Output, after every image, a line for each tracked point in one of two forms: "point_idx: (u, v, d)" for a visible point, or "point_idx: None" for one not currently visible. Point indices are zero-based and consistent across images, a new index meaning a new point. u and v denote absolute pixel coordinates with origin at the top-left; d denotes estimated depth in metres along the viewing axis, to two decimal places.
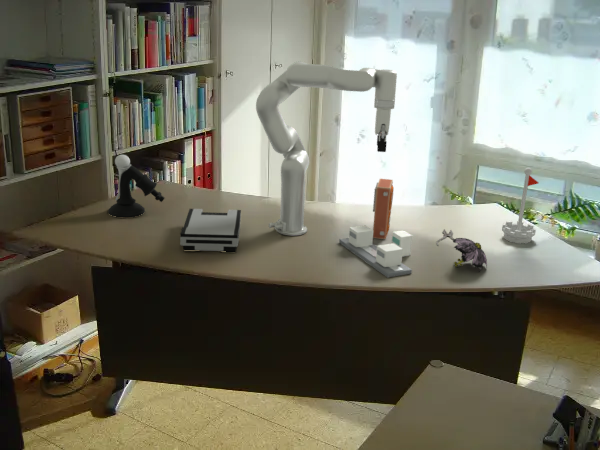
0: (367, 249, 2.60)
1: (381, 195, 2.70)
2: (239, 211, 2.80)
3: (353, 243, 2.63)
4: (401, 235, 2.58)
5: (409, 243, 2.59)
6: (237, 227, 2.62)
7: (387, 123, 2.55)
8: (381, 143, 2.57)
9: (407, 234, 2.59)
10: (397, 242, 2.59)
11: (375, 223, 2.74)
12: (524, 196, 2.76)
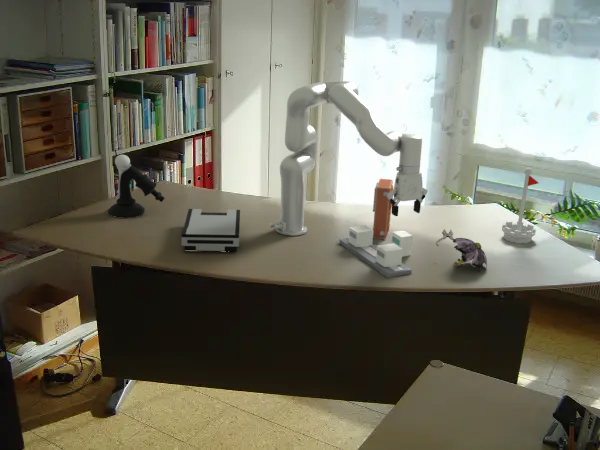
0: (367, 249, 2.60)
1: (381, 195, 2.70)
2: (238, 211, 2.80)
3: (353, 243, 2.63)
4: (401, 235, 2.58)
5: (409, 243, 2.59)
6: (237, 227, 2.63)
7: None
8: None
9: (407, 234, 2.59)
10: (397, 242, 2.59)
11: (375, 223, 2.74)
12: (524, 196, 2.76)
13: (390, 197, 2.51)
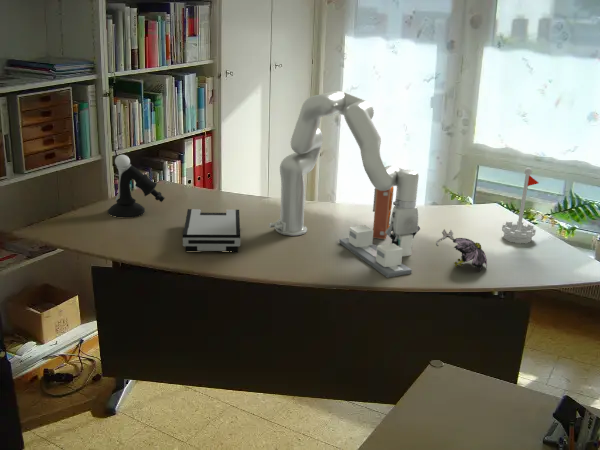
0: (367, 249, 2.60)
1: (381, 195, 2.70)
2: (237, 211, 2.80)
3: (353, 243, 2.63)
4: (401, 235, 2.58)
5: (409, 242, 2.59)
6: (238, 227, 2.63)
7: None
8: None
9: (407, 234, 2.59)
10: None
11: (375, 223, 2.74)
12: (524, 196, 2.76)
13: (389, 234, 2.56)
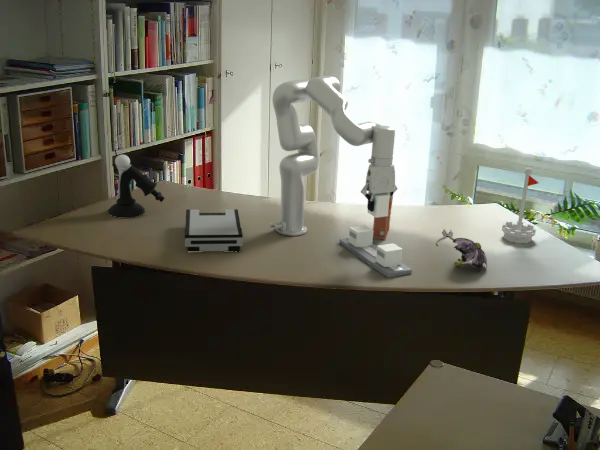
0: (367, 249, 2.60)
1: None
2: (236, 210, 2.81)
3: (353, 243, 2.63)
4: (378, 194, 2.47)
5: (386, 203, 2.48)
6: (239, 226, 2.63)
7: None
8: None
9: (384, 194, 2.48)
10: (374, 202, 2.48)
11: (375, 223, 2.74)
12: (524, 196, 2.76)
13: (365, 193, 2.46)
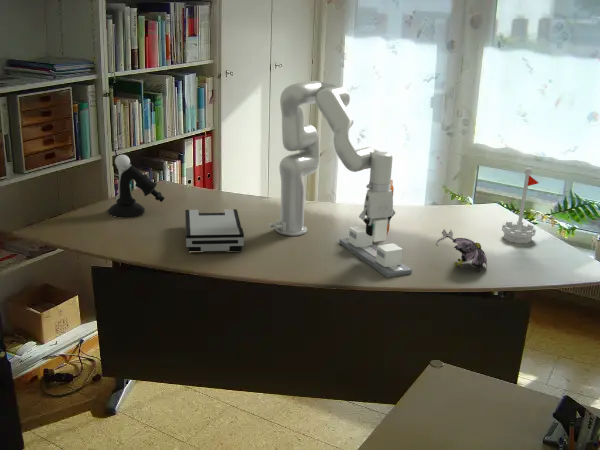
0: (367, 249, 2.60)
1: None
2: (235, 210, 2.81)
3: (353, 243, 2.63)
4: (376, 219, 2.50)
5: (384, 227, 2.51)
6: (239, 226, 2.63)
7: None
8: None
9: (382, 218, 2.52)
10: None
11: None
12: (524, 196, 2.76)
13: (363, 218, 2.49)
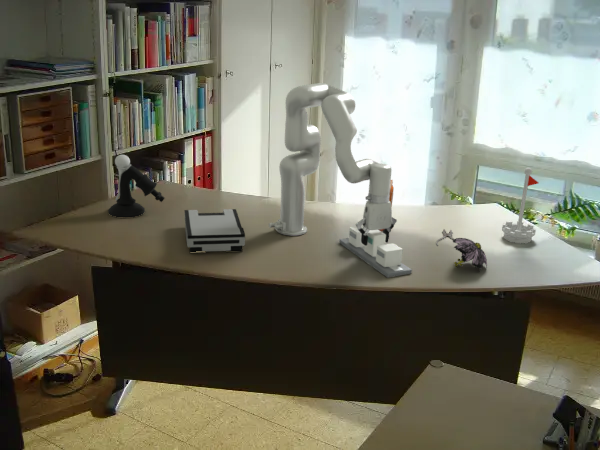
0: None
1: None
2: (234, 210, 2.81)
3: (353, 243, 2.63)
4: (374, 234, 2.52)
5: (382, 242, 2.53)
6: (240, 226, 2.63)
7: None
8: None
9: (380, 233, 2.54)
10: (370, 241, 2.53)
11: None
12: (524, 196, 2.76)
13: (359, 227, 2.49)
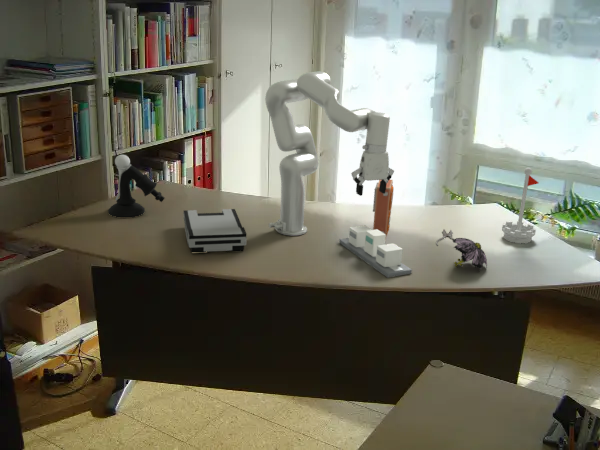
0: None
1: (381, 195, 2.70)
2: (233, 210, 2.81)
3: (353, 243, 2.63)
4: (374, 234, 2.52)
5: (382, 242, 2.53)
6: (240, 226, 2.64)
7: None
8: None
9: (380, 233, 2.54)
10: (370, 241, 2.53)
11: (375, 223, 2.74)
12: (524, 196, 2.76)
13: (355, 176, 2.46)
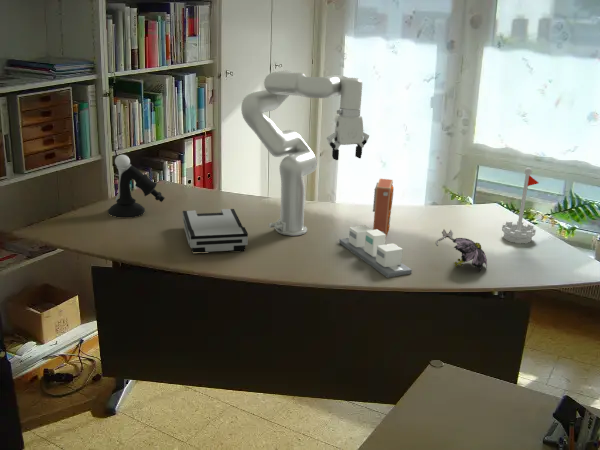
0: None
1: (381, 195, 2.70)
2: (232, 210, 2.81)
3: (353, 243, 2.63)
4: (374, 234, 2.52)
5: (382, 242, 2.53)
6: (241, 226, 2.64)
7: None
8: None
9: (380, 233, 2.54)
10: (370, 241, 2.53)
11: (375, 223, 2.74)
12: (524, 196, 2.76)
13: (330, 140, 2.51)
